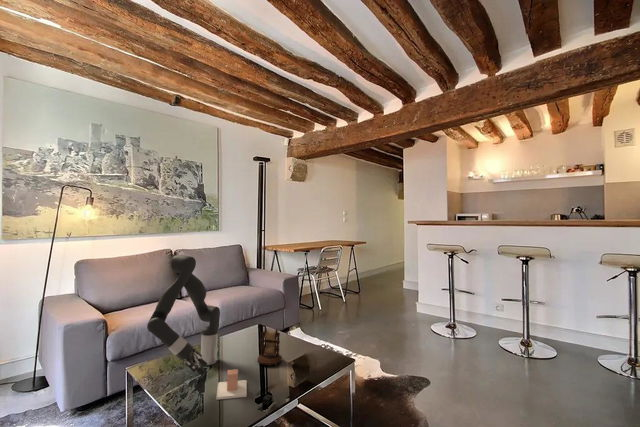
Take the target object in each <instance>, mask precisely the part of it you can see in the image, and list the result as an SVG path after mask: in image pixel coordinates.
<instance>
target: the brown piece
mask: <svg viewBox="0 0 640 427" xmlns="http://www.w3.org/2000/svg"><path fill="white" fill-rule="evenodd" d="M280 336H281V333H280V332H278V329H277V328H276V329H275V331H268V329H267V328H265V329H264V331H262V332H261V339H260V340H261V341H260V342H261V348H260V350H261V352H260V355H258V356H257V362H258V365H259V364H261V365H263V366H275V365H274V364H276V363H278V362H280V361H281V359H282V360H283V356H282V355H281V354H280V353H279V352H280V342H281V340H280ZM281 362H282V361H281ZM281 362H280V363H281ZM278 364H279V363H278ZM276 365H277V364H276Z"/></svg>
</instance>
